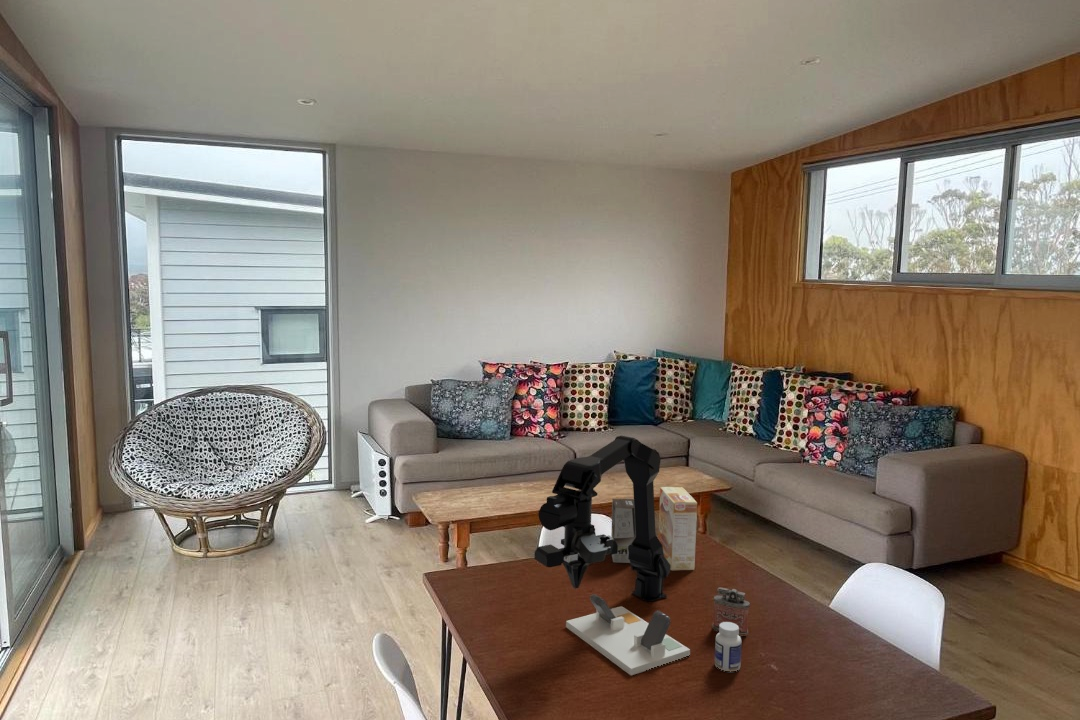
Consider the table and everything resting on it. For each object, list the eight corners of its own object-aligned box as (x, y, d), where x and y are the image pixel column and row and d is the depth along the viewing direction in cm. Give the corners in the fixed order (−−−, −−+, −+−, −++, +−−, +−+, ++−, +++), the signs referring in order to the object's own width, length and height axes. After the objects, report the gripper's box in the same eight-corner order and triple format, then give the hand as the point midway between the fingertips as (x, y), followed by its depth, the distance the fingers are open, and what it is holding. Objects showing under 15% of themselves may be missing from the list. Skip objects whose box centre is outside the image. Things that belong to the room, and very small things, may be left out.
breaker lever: (608, 614, 175) (592, 591, 172) (619, 622, 171) (604, 598, 168) (602, 620, 175) (587, 597, 171) (614, 628, 171) (598, 604, 168)
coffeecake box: (656, 550, 223) (659, 486, 221) (680, 550, 224) (683, 486, 221) (669, 570, 208) (672, 502, 206) (695, 570, 209) (698, 501, 207)
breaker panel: (621, 612, 182) (622, 576, 181) (689, 656, 162) (691, 616, 161) (566, 627, 174) (567, 589, 173) (630, 675, 154) (632, 633, 153)
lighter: (749, 632, 173) (751, 590, 172) (746, 638, 170) (749, 596, 169) (714, 624, 177) (716, 583, 176) (710, 630, 174) (713, 589, 173)
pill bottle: (741, 662, 160) (743, 622, 159) (739, 675, 155) (741, 633, 154) (715, 658, 161) (717, 618, 160) (712, 670, 156) (714, 629, 155)
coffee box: (635, 563, 213) (637, 508, 211) (612, 563, 213) (614, 507, 211) (632, 551, 222) (634, 498, 220) (610, 551, 222) (612, 497, 220)
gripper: (562, 537, 153) (560, 610, 155) (634, 523, 163) (631, 593, 164) (534, 521, 162) (532, 590, 164) (604, 509, 172) (601, 575, 174)
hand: (575, 587), depth 166 cm, fingers closed
